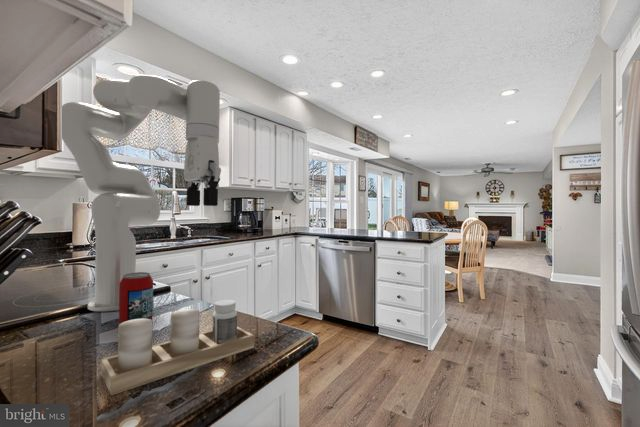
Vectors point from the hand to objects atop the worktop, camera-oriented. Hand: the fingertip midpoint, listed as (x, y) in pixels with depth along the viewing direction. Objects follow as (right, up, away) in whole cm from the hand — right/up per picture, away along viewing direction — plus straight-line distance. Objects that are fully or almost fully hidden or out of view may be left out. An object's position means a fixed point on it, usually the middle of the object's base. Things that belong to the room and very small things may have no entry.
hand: (201, 205), depth 76 cm
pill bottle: (+10, -28, -13) cm, 33 cm away
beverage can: (-14, -28, -3) cm, 32 cm away
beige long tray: (+4, -29, -19) cm, 34 cm away
